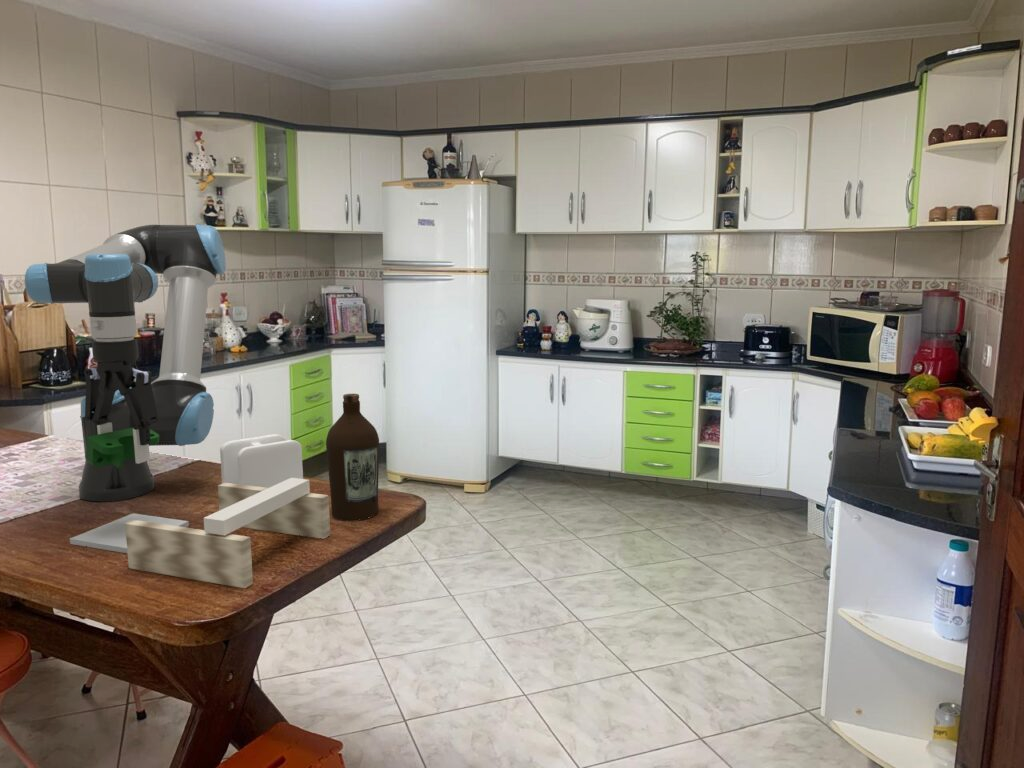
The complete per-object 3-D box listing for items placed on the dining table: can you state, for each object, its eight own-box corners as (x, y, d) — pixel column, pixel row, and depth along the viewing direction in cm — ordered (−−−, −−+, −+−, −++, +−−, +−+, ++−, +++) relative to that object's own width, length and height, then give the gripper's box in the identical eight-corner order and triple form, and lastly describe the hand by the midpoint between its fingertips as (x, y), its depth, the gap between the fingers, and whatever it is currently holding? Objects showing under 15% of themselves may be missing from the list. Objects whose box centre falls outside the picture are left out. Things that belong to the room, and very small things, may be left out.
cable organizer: (238, 502, 168) (235, 450, 166) (221, 491, 176) (218, 441, 174) (304, 489, 178) (301, 439, 176) (284, 478, 186) (282, 431, 184)
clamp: (113, 491, 144) (96, 454, 139) (95, 478, 147) (78, 442, 142) (169, 454, 152) (155, 418, 146) (150, 443, 155) (136, 407, 149)
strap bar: (204, 532, 128) (203, 517, 127) (291, 490, 150) (291, 477, 149) (224, 535, 126) (223, 520, 126) (309, 492, 149) (309, 479, 148)
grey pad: (70, 543, 145) (69, 538, 145) (133, 517, 159) (133, 513, 158) (129, 553, 140) (128, 548, 140) (189, 526, 154) (188, 521, 154)
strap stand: (128, 568, 134) (124, 523, 132) (226, 520, 157) (224, 482, 156) (245, 588, 126) (242, 541, 125) (330, 535, 149) (328, 495, 148)
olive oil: (321, 511, 163) (316, 393, 159) (368, 502, 169) (364, 388, 165) (341, 526, 154) (336, 402, 150) (389, 515, 160) (386, 396, 156)
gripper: (54, 338, 143) (66, 459, 147) (143, 343, 136) (153, 470, 140) (88, 334, 150) (99, 449, 154) (174, 339, 143) (183, 459, 147)
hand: (125, 459), depth 147 cm, fingers closed on clamp, 8 cm apart
